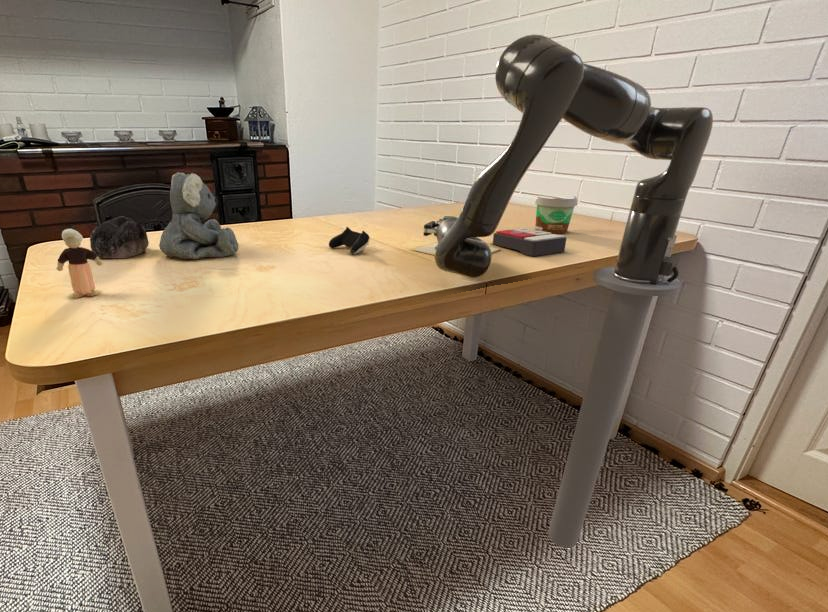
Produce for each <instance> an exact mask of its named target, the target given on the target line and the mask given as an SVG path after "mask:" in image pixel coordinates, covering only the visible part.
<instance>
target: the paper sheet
mask: <svg viewBox="0 0 828 612" xmlns="http://www.w3.org/2000/svg"><path fill="white" fill-rule="evenodd" d="M437 245H438V241H437V242H434V243H430V244H426V245H423V246H419V247H415V248H412V251H415V252H418V253H424V254H428V255H432V256H435V252H436V249H437ZM489 247H490V250H491V254H493V253H495V252H496V253H497V252H498V251H500V250H501V249H500V248H496V247H492V246H489Z"/></svg>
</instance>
